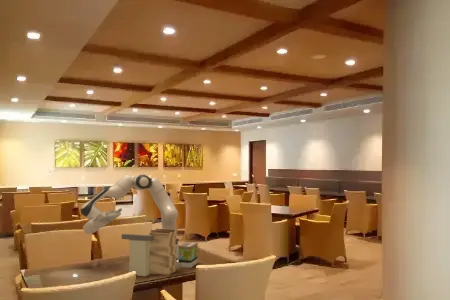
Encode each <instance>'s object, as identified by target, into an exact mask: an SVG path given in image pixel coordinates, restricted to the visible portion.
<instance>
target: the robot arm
mask: <svg viewBox="0 0 450 300" xmlns="http://www.w3.org/2000/svg"><path fill="white" fill-rule="evenodd" d="M131 189H134V190H135V191H137V190H139V191H142V190H148V192H149V193H150V196H151V197H152V200H153V201H154V203H155V205H156V206H157V207H158V208H157V209H159V211H160V216H161V217H160V219H161V222H160V223H161V229H170V230H175V232H176V260H178V257H179V246H180V245H181V244H179V242H180V238H179V237H178V236H177V235H178V231H177V228H178V227H177V222H176V221H177V219H178V217H179V212H178V210H177V208H176V206H175V205H174V203H173V201H172V200H171V198H170V196H169V195H168V193H167V191H166V189H165V187H164V185H163V183H162V182H161V180H159V178H157V177H149V176H148V175H146V174H138V175H135V176H132V175H130V174H124V175H123V176H122V177H120V178H119V179H118V180H117V181H116V182H115V183H114V184H113V185H112V186H106V187H104V188H103V189H101V190H100V191H99V192H98V193H97V194H95V195H94V196H93V197H92V198H91V199H89V200H88V201H86V202H85V203H84V204H82V206H80V213H81V215H82V216H84V217H85V218H87V219H88V221H86V223H84V224H83V225H82V230H83V231H84V233H86V234H87V235H91V234H94V233H95V232H97V231H99V230H100V229H101V228H103V227H105V226H106V225H107V226H108V225H109V224H110V223H113V222H114V220H117V219H118V218H119V217H120V216H121V215H122V212H123V209H122V207H120V208H118V209H116V210H115V209H114V210H113V209H110V210H108V211H102V210H101V209H99V208H98V207H97V206H96V204H97V203H99V201H101V200H102V199H103V198H105V197H109V198H112V199H115V200H116V199H117V200H121V199H123V198H124V197H126V195H127V194H128V193H129V191H130V190H131Z"/></svg>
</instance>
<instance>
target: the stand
mask: <svg viewBox="0 0 450 300" xmlns="http://www.w3.org/2000/svg"><path fill="white" fill-rule="evenodd" d="M148 235H154V240H153V241H149V274H154V275H165V276H170V275H171V274H173V273H175V272H177V270H176V269H177V259H176V232H175V230H170V229H162V228H155V230H154V229H150V232H149V233H148Z"/></svg>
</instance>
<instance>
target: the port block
mask: <svg viewBox="0 0 450 300" xmlns="http://www.w3.org/2000/svg"><path fill="white" fill-rule="evenodd" d="M128 243H129V244H128V245H129V247H128V248H129V250H128V251H129V261H128V263H129V267H128V268H129V269H128V270H129V271H128V272H132V271H136V273H137V276H139V277H147V276H149V275H150V273H149V241H144V240H129V239H128Z"/></svg>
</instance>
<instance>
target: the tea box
mask: <svg viewBox="0 0 450 300" xmlns="http://www.w3.org/2000/svg"><path fill="white" fill-rule="evenodd" d="M179 245H180V246H179V257H178V259H177V260H178V265H177V266H178V268H184V269H185V268H187V269H189V268H190V269H192V268H193V267H194V266H195V265H196V264H198V255H199V254H198V245H199V244H198V242H187V241H186V242H184V243H181V244H179Z"/></svg>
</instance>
